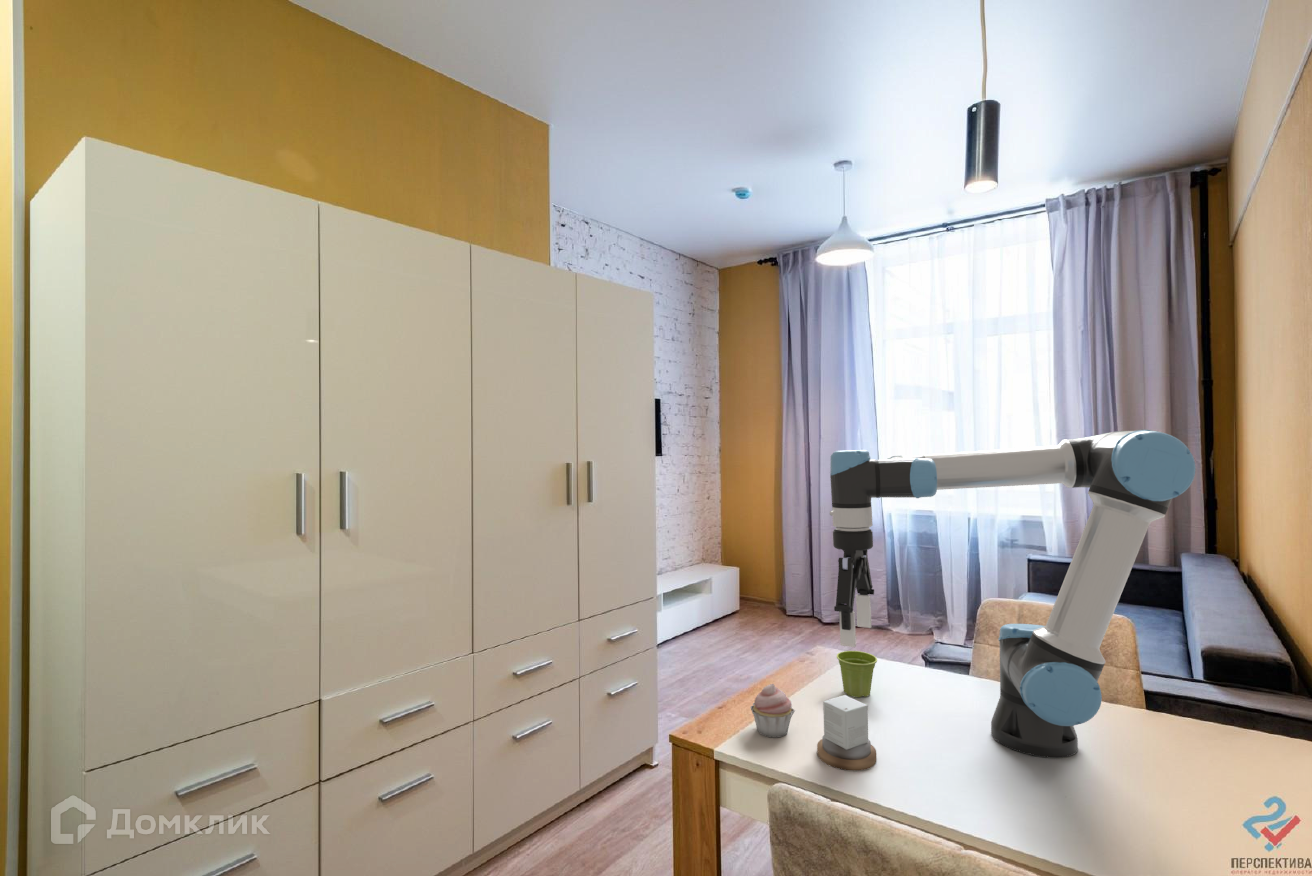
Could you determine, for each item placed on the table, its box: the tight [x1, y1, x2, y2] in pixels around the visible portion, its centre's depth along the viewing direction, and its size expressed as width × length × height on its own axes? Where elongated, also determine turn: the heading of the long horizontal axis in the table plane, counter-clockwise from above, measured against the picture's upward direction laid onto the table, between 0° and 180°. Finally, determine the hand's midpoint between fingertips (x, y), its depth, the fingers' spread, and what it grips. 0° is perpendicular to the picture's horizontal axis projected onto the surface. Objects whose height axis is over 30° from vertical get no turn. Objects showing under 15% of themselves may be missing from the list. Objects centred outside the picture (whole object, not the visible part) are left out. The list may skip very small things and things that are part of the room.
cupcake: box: [750, 683, 796, 738], centre depth 137 cm, size 9×9×10 cm
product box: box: [822, 694, 869, 750], centre depth 126 cm, size 6×6×7 cm
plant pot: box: [836, 650, 878, 698], centre depth 157 cm, size 9×9×9 cm
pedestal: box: [816, 734, 877, 772], centre depth 126 cm, size 11×11×3 cm
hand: (856, 636), depth 128 cm, fingers open, 13 cm apart
